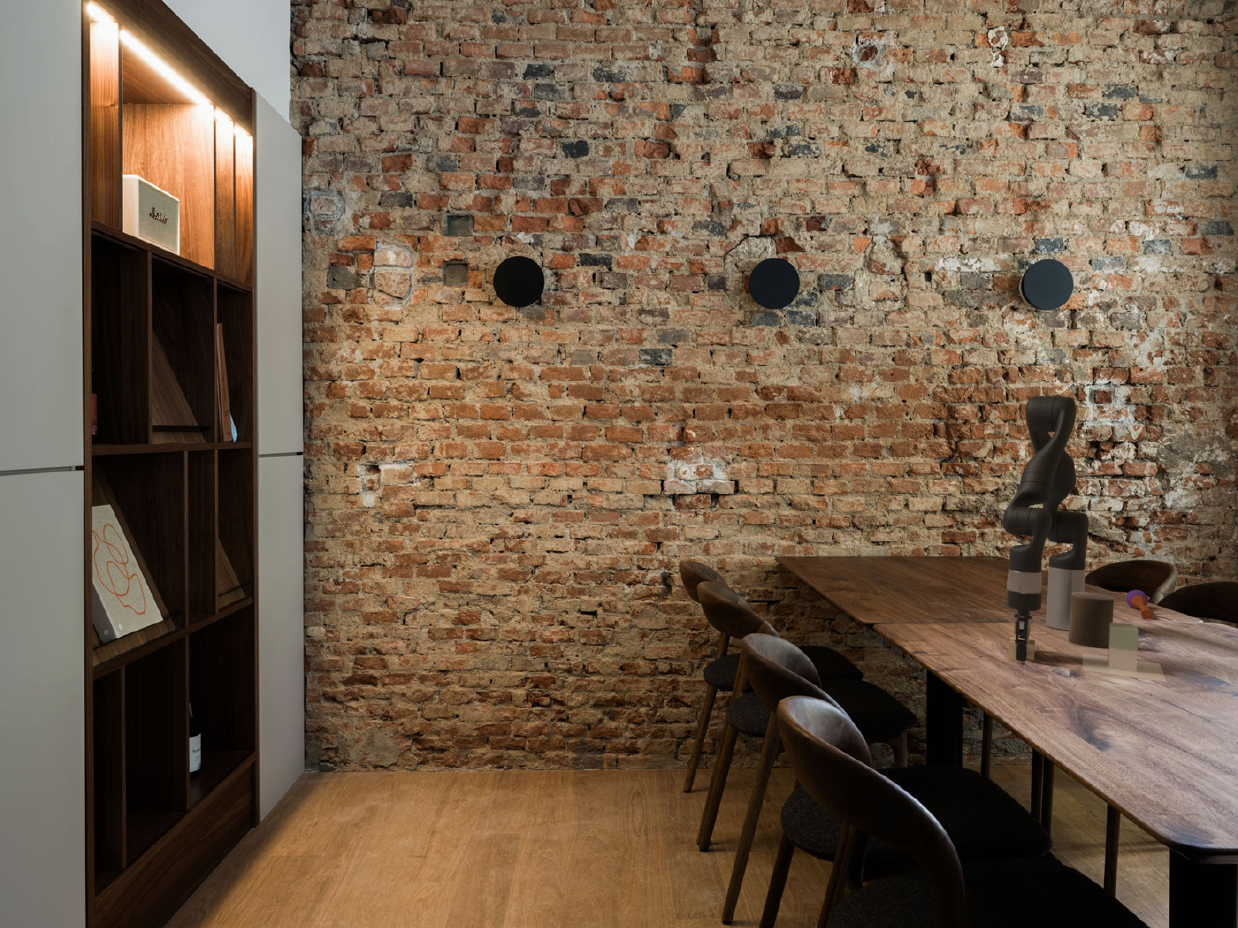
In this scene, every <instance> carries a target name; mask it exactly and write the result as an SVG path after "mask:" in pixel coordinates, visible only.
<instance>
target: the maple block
mask: <svg viewBox="0 0 1238 928" xmlns="http://www.w3.org/2000/svg"><path fill="white" fill-rule="evenodd" d="M1018 639H1022V638H1018ZM1015 640H1016V637H1013V636H1010V638H1009V642H1008V661H1007V662H1009V663H1016V664H1025V663H1026V660H1031V661H1034V660H1035V659H1034V658H1035V650H1036V649H1035V648H1036V647H1035V646H1036V640H1035V639H1030V638H1028V639H1027V642H1028V645H1027V650H1026V660H1025V661H1018V660H1016V643H1015ZM1022 640H1025V639H1022Z"/></svg>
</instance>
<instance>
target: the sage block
mask: <svg viewBox="0 0 1238 928" xmlns="http://www.w3.org/2000/svg"><path fill="white" fill-rule="evenodd" d="M1139 632H1140V631H1139V628H1138V625H1134V624H1127V623H1117V622H1113V623H1110V628H1109V646H1110V648H1115V649H1123V650H1131V651H1139V650H1138V648H1139V647H1138V645H1139Z"/></svg>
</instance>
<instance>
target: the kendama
mask: <svg viewBox="0 0 1238 928" xmlns="http://www.w3.org/2000/svg"><path fill="white" fill-rule="evenodd" d="M1125 602H1126V604H1127V605H1128V606H1129V607H1130V608H1133V609H1137V610H1138V609H1139V610H1140V616H1141V618H1143V619H1144V620H1148V621H1149V620H1151V621H1152V620H1153V619H1154V617H1155V613H1154V611H1153V610H1152V609H1150V608H1149V607H1148V606H1147V605H1148V603H1149V597H1148V595H1147V594H1146V593H1145V592H1144V591H1142V590H1139V589H1134V590H1130V591H1129V592H1127V594H1126V596H1125Z"/></svg>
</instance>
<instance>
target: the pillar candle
mask: <svg viewBox="0 0 1238 928" xmlns="http://www.w3.org/2000/svg"><path fill="white" fill-rule="evenodd" d="M1114 606H1115V597H1113V596H1110V595H1108V594H1102V593H1096V592H1093V590H1091V592H1086V591H1084V592H1074V593H1072V596H1071V612H1070V627H1069V630H1068V642H1069V643H1070V644H1073V645H1077V646H1081V647H1086V648H1094V649H1109V628H1110V623H1114Z"/></svg>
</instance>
